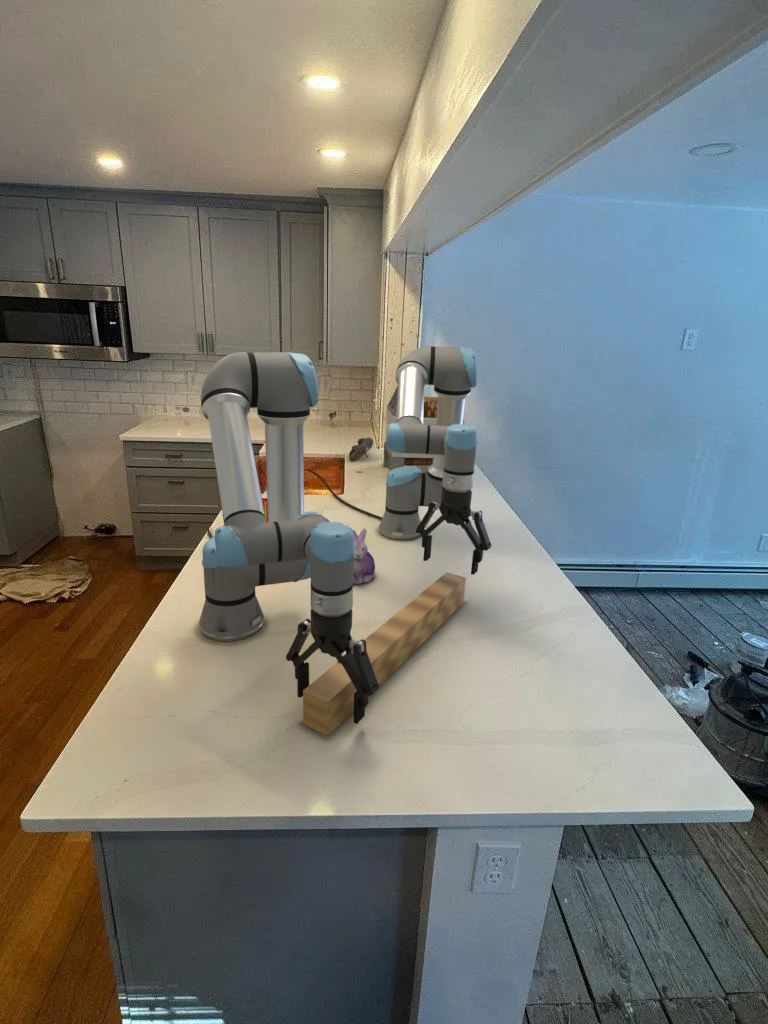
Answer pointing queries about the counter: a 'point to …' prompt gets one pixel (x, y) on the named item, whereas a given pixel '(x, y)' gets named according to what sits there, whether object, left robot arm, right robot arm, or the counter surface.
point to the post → (383, 652)
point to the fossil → (360, 449)
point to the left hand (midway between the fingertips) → (330, 706)
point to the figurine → (362, 560)
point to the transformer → (429, 418)
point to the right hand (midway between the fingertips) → (450, 565)
